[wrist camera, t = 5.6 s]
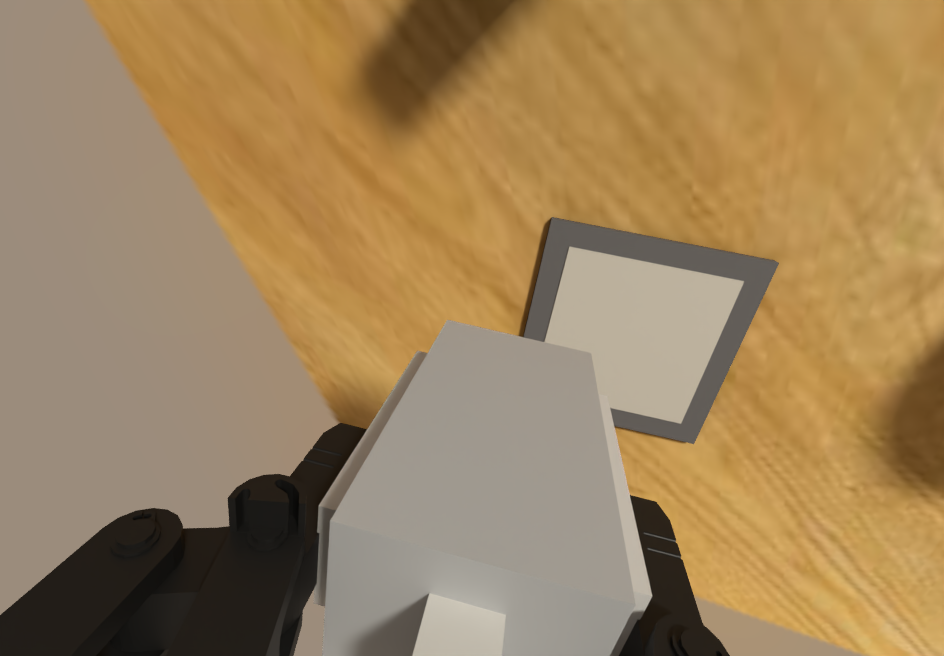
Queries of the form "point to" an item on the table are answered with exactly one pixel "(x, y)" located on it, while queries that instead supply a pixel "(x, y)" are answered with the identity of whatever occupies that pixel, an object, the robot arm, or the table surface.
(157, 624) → the robot arm
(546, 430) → the usb dongle
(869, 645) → the table surface
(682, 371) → the charcoal picture frame
